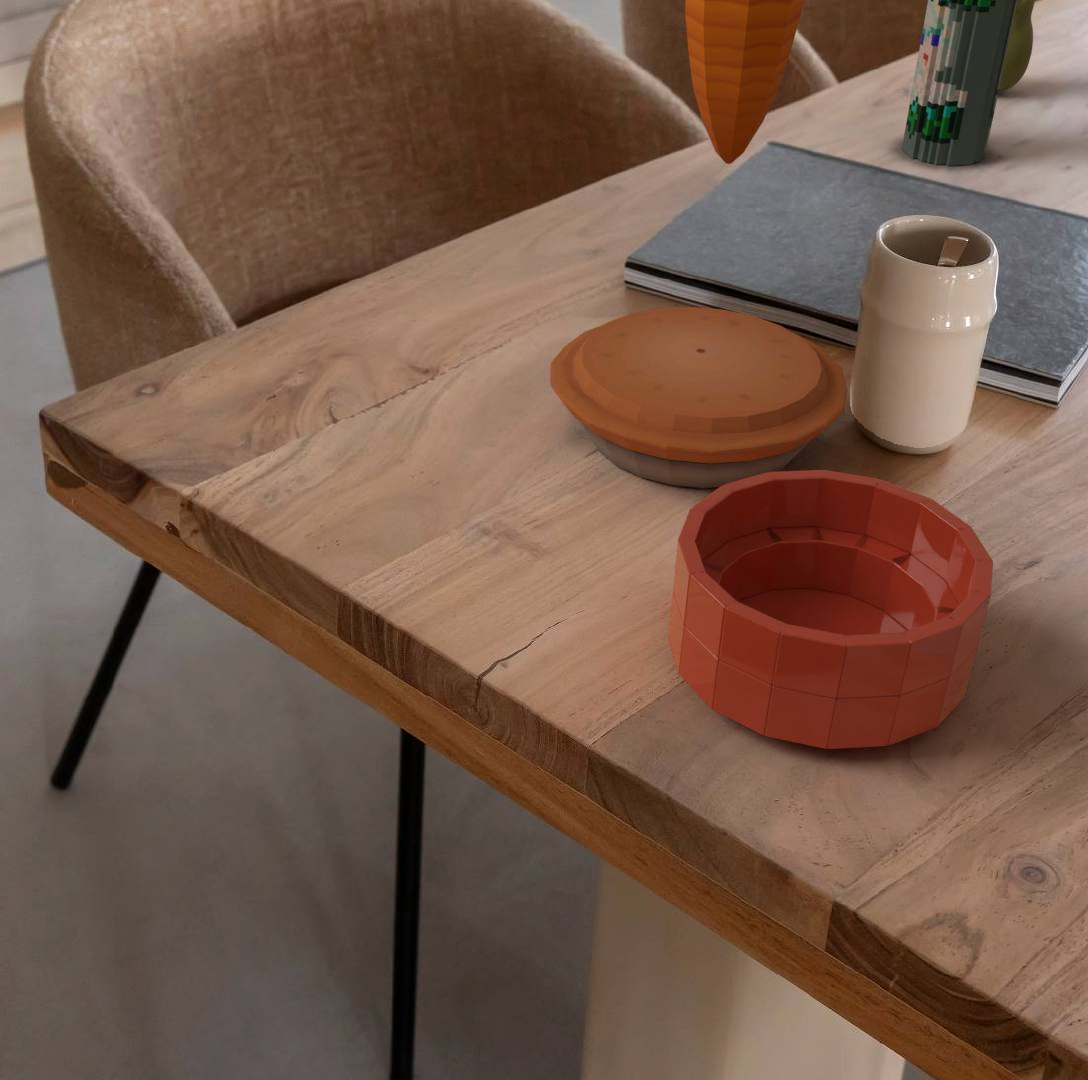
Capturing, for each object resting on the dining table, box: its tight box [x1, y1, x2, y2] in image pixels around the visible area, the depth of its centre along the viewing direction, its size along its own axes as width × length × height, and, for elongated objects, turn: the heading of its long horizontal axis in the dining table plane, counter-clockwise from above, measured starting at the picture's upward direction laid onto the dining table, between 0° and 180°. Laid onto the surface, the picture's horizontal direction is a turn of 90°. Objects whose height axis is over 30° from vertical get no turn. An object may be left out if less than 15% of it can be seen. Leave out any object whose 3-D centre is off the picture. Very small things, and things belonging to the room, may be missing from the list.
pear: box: [998, 0, 1035, 93], centre depth 124 cm, size 6×5×10 cm
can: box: [901, 0, 1018, 167], centre depth 110 cm, size 6×6×15 cm
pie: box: [549, 306, 848, 489], centre depth 76 cm, size 15×16×5 cm
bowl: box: [667, 469, 994, 750], centre depth 60 cm, size 12×12×6 cm
